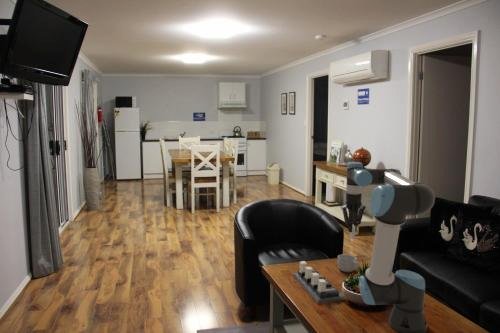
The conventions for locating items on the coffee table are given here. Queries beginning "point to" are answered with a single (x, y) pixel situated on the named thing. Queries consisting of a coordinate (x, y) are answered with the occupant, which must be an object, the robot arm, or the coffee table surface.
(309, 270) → the breaker handle
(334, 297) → the panel
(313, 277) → the breaker handle
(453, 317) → the coffee table surface
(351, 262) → the teacup
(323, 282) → the breaker handle
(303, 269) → the breaker handle
